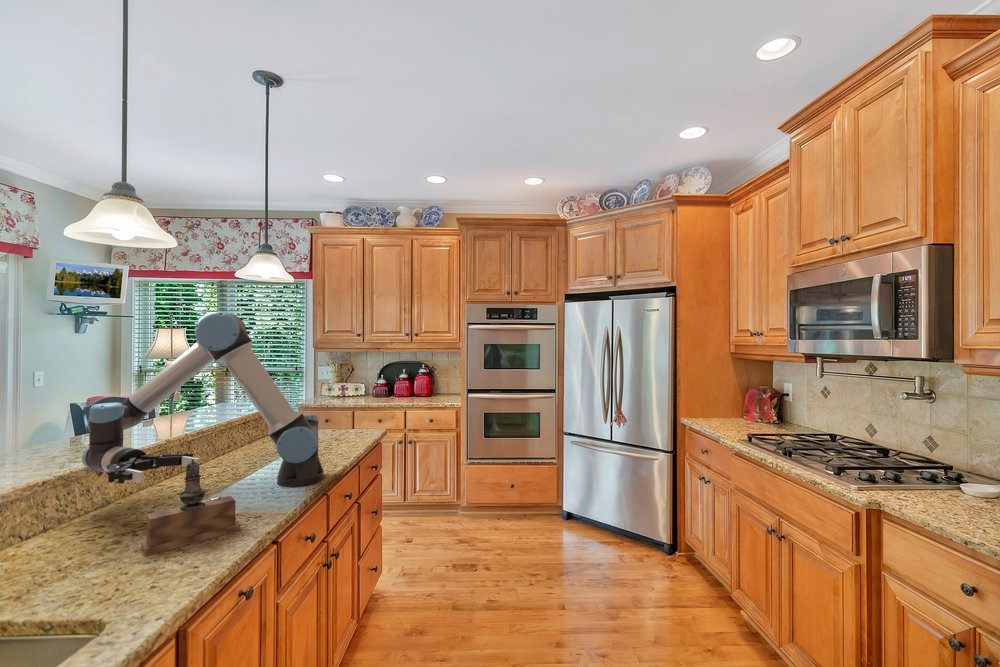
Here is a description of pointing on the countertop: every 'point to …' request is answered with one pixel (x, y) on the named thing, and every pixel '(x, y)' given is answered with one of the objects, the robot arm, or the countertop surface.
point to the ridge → (189, 525)
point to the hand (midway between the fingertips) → (171, 470)
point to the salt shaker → (192, 488)
